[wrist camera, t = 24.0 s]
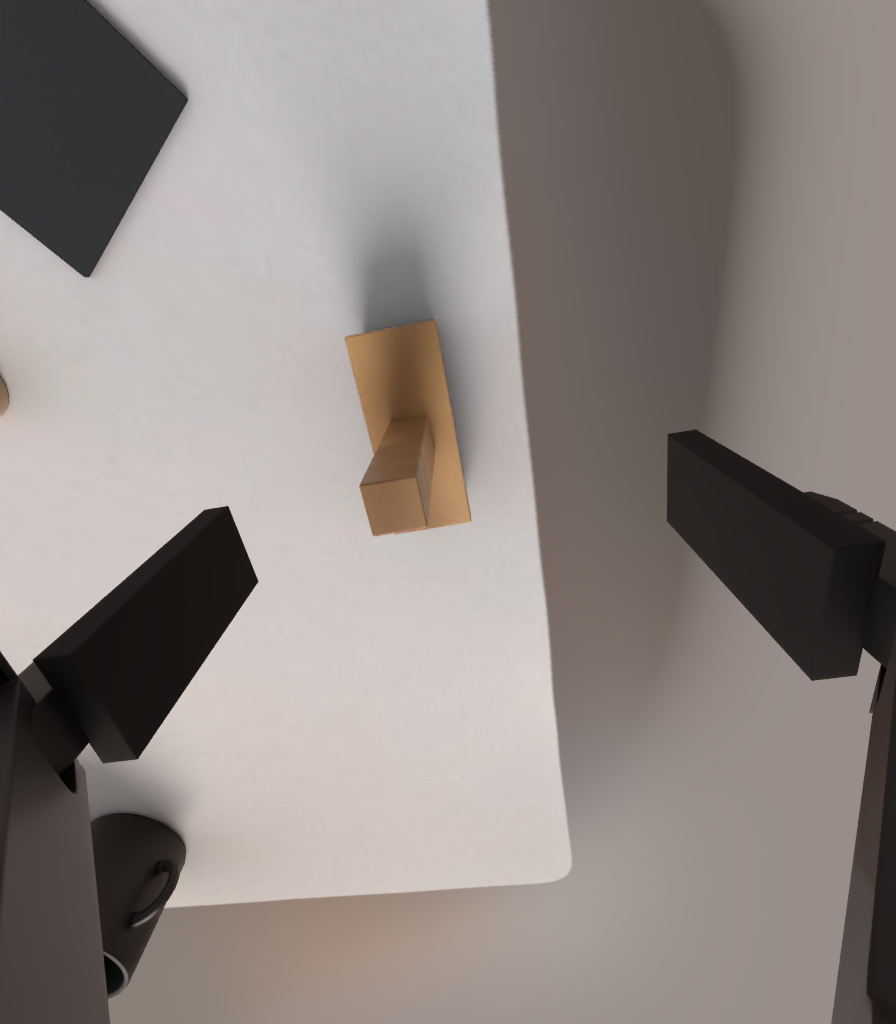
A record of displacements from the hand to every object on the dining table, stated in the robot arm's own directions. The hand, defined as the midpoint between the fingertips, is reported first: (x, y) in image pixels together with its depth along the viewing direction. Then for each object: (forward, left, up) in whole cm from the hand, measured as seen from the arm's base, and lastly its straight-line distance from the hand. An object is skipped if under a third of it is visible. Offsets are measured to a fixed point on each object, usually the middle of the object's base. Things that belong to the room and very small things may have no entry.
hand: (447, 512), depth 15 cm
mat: (+3, -23, -15) cm, 28 cm away
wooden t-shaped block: (+2, -1, -15) cm, 15 cm away
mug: (+48, +7, -15) cm, 50 cm away
